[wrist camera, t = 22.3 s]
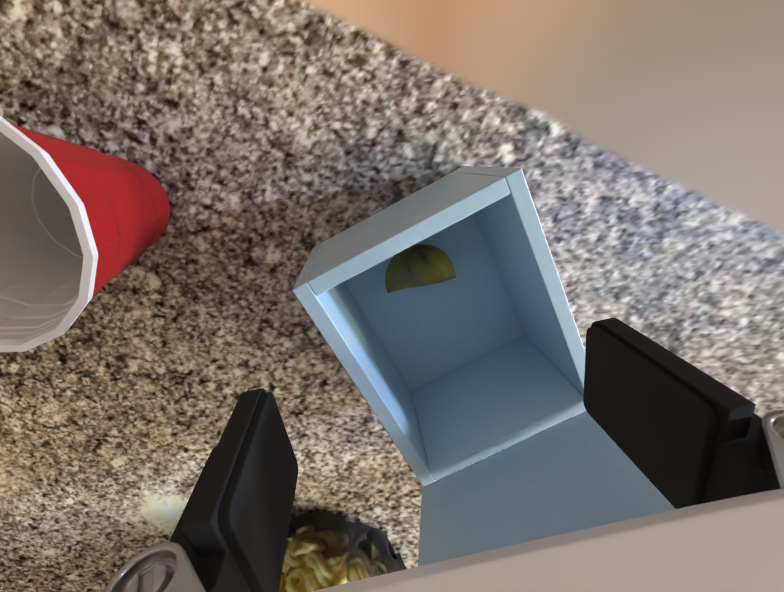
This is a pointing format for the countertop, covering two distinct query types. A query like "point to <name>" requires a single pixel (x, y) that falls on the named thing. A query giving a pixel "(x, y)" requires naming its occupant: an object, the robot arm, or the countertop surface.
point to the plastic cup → (66, 230)
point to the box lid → (535, 493)
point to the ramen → (334, 553)
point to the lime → (418, 268)
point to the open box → (452, 321)
